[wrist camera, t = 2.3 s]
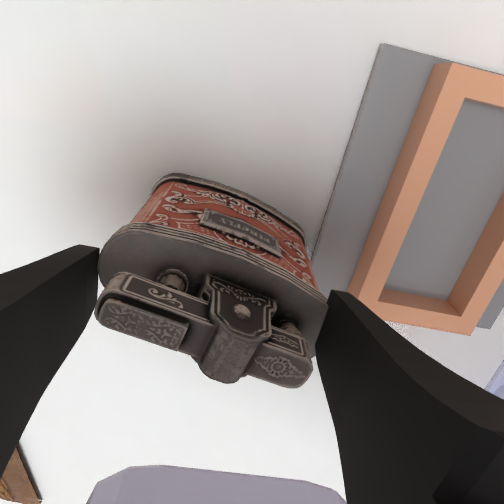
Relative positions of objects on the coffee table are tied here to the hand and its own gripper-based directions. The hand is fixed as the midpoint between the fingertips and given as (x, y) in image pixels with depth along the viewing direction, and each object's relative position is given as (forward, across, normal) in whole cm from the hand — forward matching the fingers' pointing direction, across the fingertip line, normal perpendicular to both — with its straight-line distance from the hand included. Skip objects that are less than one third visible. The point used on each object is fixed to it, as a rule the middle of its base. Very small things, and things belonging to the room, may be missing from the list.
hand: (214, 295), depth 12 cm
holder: (+7, -10, -3) cm, 13 cm away
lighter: (+7, 0, 0) cm, 7 cm away
